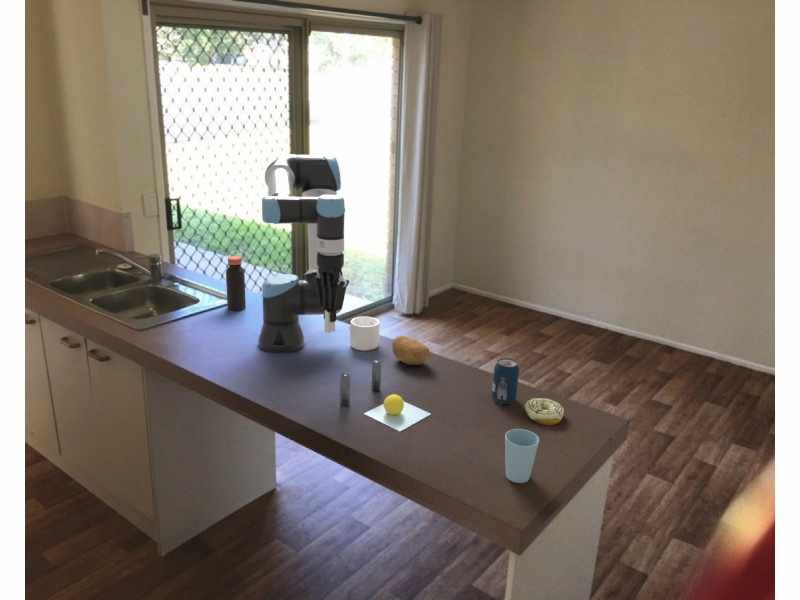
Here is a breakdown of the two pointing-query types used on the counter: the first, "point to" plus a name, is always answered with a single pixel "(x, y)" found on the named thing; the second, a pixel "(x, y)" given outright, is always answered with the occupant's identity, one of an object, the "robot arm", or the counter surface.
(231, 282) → the bottle
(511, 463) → the cup
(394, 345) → the potato
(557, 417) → the decorated donut
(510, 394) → the soda can
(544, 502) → the counter surface
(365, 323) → the mug
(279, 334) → the robot arm
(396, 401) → the ball
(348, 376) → the post
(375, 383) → the post
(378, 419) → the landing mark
